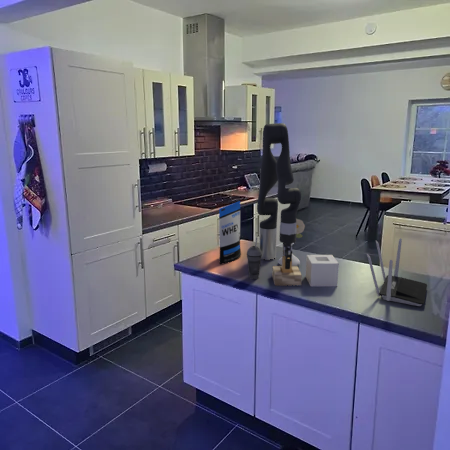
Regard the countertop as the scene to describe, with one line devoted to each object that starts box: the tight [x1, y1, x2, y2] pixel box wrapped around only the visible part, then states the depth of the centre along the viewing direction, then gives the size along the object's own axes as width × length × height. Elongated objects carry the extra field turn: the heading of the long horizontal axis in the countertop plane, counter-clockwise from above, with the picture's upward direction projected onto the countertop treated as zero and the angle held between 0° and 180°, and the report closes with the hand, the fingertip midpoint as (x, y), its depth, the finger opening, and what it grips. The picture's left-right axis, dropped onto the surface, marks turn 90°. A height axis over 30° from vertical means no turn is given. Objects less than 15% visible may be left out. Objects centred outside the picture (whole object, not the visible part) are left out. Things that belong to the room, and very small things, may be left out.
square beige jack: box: [271, 265, 303, 287], centre depth 184 cm, size 12×12×5 cm
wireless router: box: [366, 238, 428, 307], centre depth 168 cm, size 34×23×20 cm
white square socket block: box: [305, 254, 340, 287], centre depth 182 cm, size 12×12×11 cm
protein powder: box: [218, 200, 242, 265], centre depth 214 cm, size 10×24×30 cm, turn 152°
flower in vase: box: [277, 218, 306, 267], centre depth 202 cm, size 13×11×25 cm
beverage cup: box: [246, 237, 262, 280], centre depth 187 cm, size 7×7×20 cm
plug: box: [281, 255, 292, 273], centre depth 183 cm, size 4×4×10 cm
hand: (286, 266), depth 183 cm, fingers closed on plug, 4 cm apart
